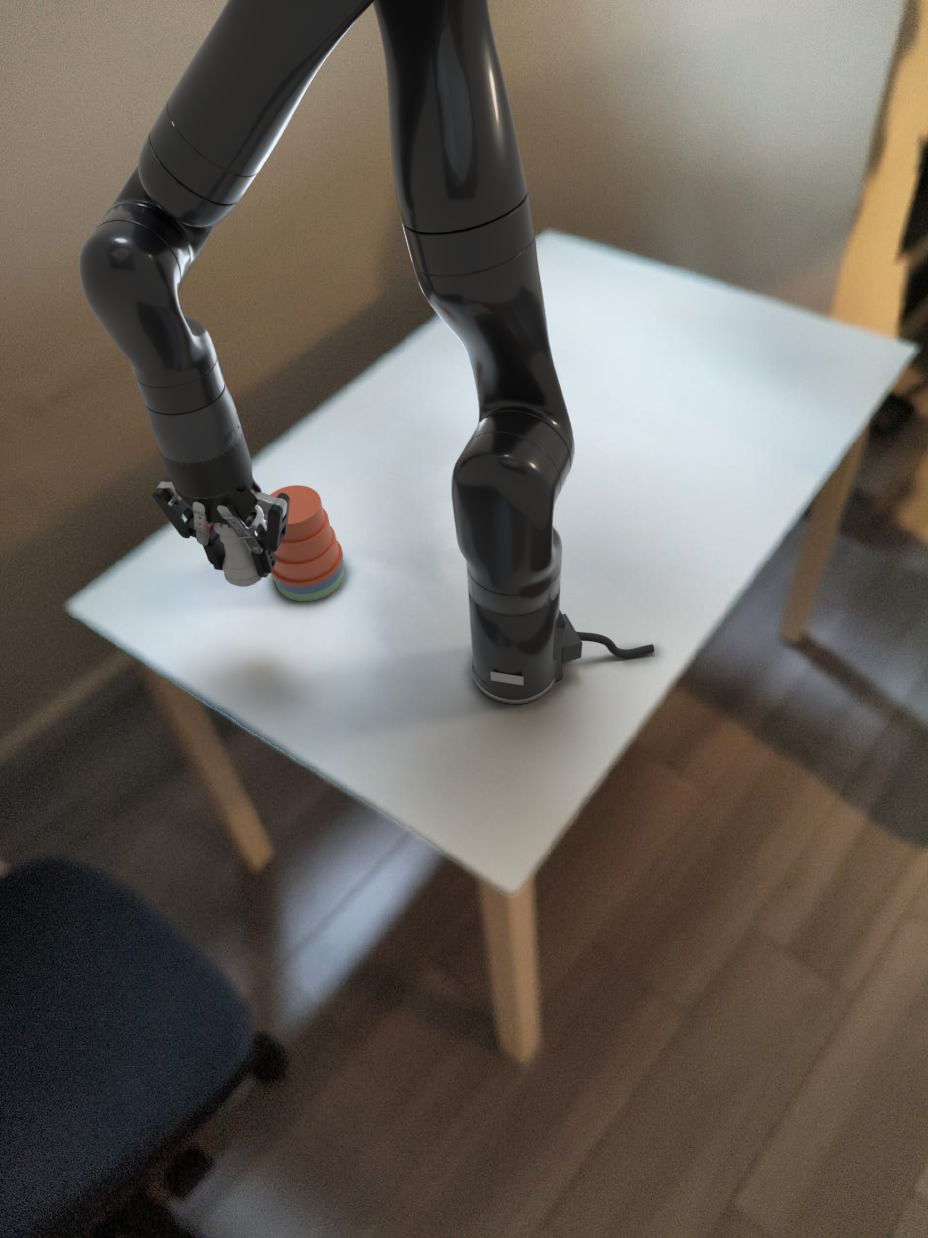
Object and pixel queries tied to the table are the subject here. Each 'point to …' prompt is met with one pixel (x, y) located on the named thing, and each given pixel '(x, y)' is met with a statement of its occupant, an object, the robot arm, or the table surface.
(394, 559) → the table surface
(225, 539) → the rook chess piece
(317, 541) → the cup stack
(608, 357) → the table surface
